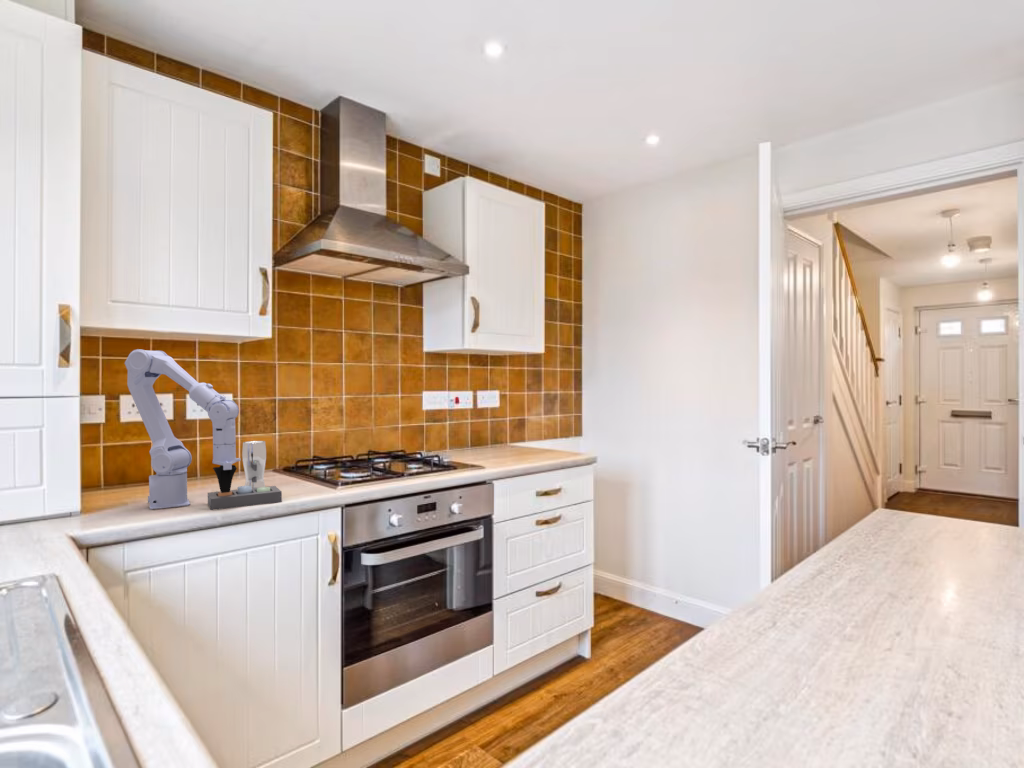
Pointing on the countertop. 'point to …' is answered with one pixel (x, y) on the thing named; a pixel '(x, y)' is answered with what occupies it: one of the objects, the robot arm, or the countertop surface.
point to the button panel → (244, 498)
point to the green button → (263, 489)
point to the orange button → (224, 493)
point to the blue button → (244, 489)
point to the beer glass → (254, 463)
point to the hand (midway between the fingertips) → (225, 492)
